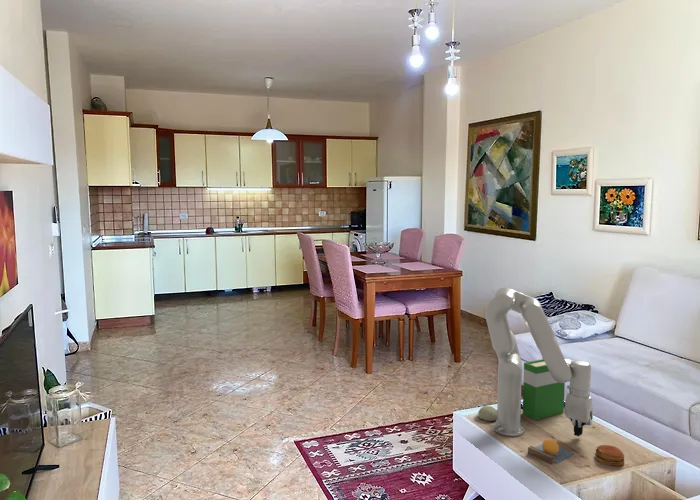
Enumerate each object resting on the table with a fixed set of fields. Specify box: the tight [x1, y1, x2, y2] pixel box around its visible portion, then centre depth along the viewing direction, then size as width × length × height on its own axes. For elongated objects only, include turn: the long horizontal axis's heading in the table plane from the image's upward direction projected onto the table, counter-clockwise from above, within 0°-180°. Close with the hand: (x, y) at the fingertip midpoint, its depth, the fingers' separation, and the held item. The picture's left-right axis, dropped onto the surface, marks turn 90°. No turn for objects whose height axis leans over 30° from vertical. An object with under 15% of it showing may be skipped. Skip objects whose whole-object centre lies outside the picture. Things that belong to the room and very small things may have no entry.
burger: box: [594, 444, 625, 467], centre depth 192 cm, size 10×9×5 cm
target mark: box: [534, 442, 575, 464], centre depth 199 cm, size 12×12×1 cm
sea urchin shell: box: [477, 405, 497, 422], centre depth 230 cm, size 9×8×8 cm
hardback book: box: [522, 358, 566, 421], centre depth 234 cm, size 18×7×24 cm, turn 115°
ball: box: [541, 438, 560, 455], centre depth 197 cm, size 6×6×6 cm
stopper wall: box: [527, 445, 555, 465], centre depth 194 cm, size 2×10×2 cm, turn 36°
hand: (577, 434), depth 210 cm, fingers closed
